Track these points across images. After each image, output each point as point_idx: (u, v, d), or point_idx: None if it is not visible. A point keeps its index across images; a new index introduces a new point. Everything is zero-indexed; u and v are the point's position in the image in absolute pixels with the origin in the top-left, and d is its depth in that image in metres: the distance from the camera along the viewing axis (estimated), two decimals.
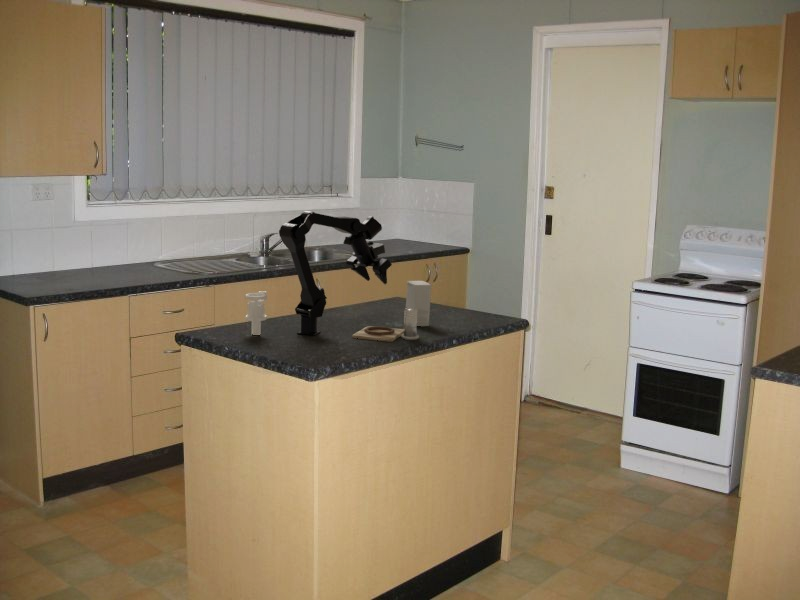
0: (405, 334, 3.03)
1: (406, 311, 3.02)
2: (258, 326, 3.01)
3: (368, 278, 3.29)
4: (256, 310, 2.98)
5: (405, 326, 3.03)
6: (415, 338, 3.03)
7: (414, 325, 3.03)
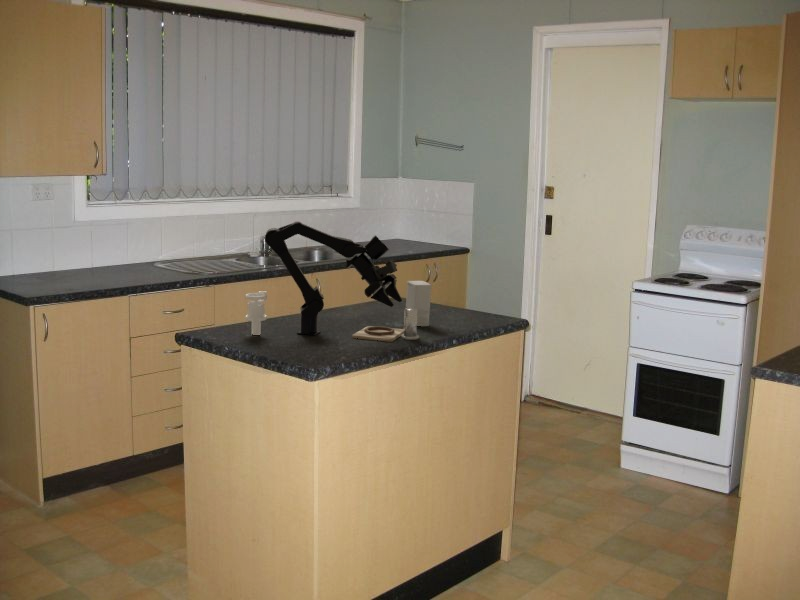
0: (405, 334, 3.03)
1: (406, 311, 3.02)
2: (258, 326, 3.01)
3: (399, 299, 3.09)
4: (256, 310, 2.98)
5: (405, 326, 3.03)
6: (415, 338, 3.03)
7: (414, 325, 3.03)
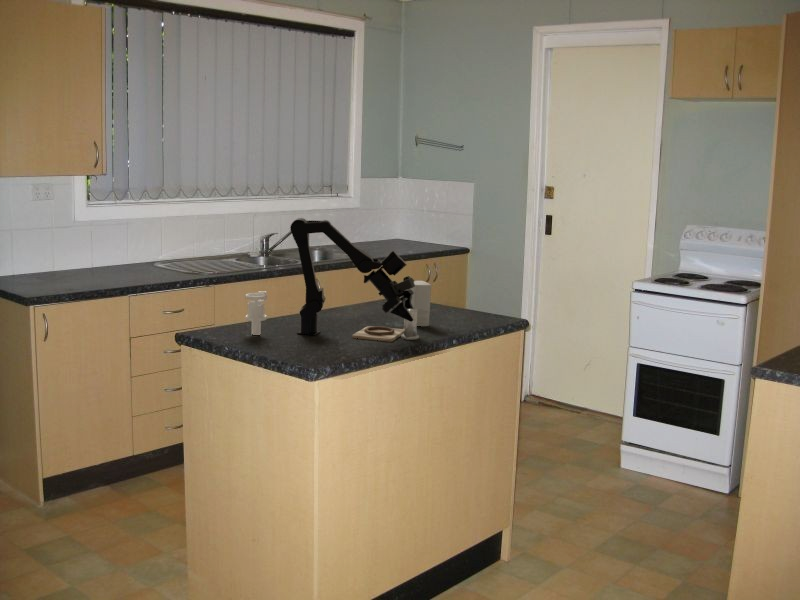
0: (405, 334, 3.03)
1: None
2: (258, 326, 3.01)
3: None
4: (256, 310, 2.98)
5: (405, 326, 3.03)
6: (415, 338, 3.03)
7: (414, 325, 3.03)
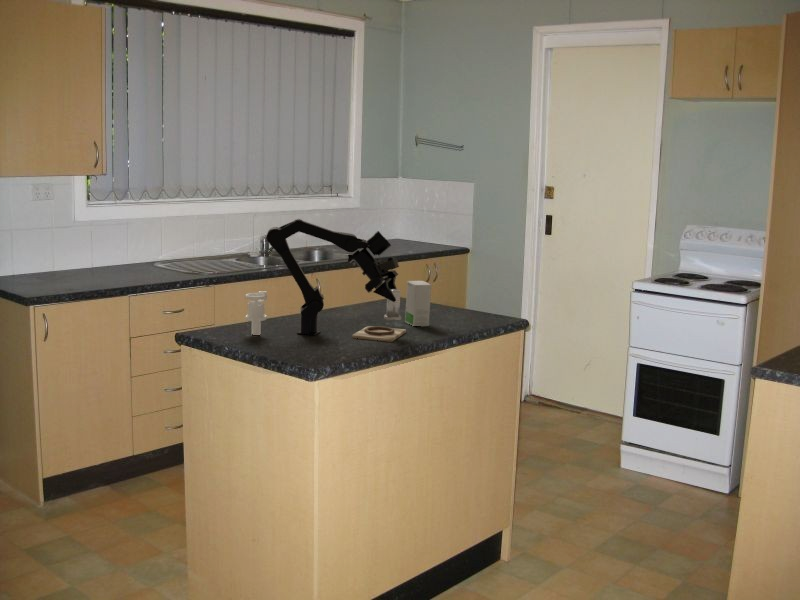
0: (388, 314, 3.04)
1: None
2: (258, 326, 3.01)
3: None
4: (256, 310, 2.98)
5: (387, 306, 3.04)
6: (398, 318, 3.03)
7: (397, 305, 3.03)
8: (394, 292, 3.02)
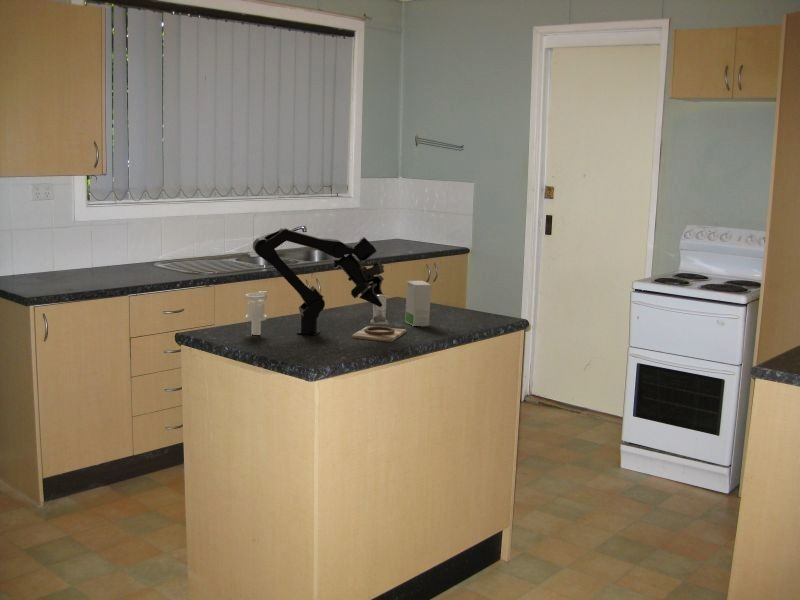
0: (374, 319, 3.06)
1: None
2: (258, 326, 3.01)
3: None
4: (256, 310, 2.98)
5: (374, 311, 3.06)
6: (384, 323, 3.05)
7: (383, 310, 3.05)
8: (380, 297, 3.04)
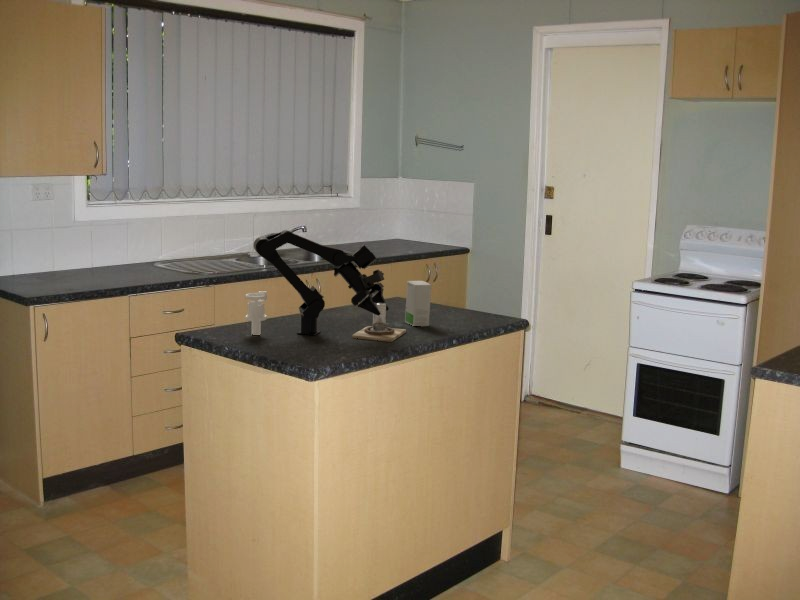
0: (374, 328, 3.06)
1: None
2: (258, 326, 3.01)
3: (386, 308, 3.10)
4: (256, 310, 2.98)
5: (373, 320, 3.06)
6: None
7: (383, 319, 3.06)
8: (380, 306, 3.04)
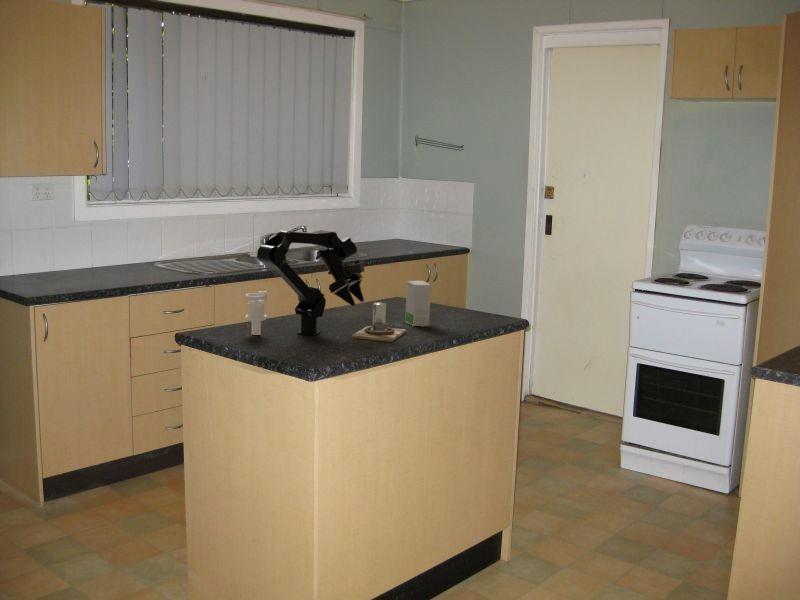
0: (374, 328, 3.06)
1: (375, 305, 3.05)
2: (258, 326, 3.01)
3: (361, 299, 3.14)
4: (256, 310, 2.98)
5: (373, 320, 3.06)
6: None
7: (383, 319, 3.06)
8: (380, 306, 3.04)
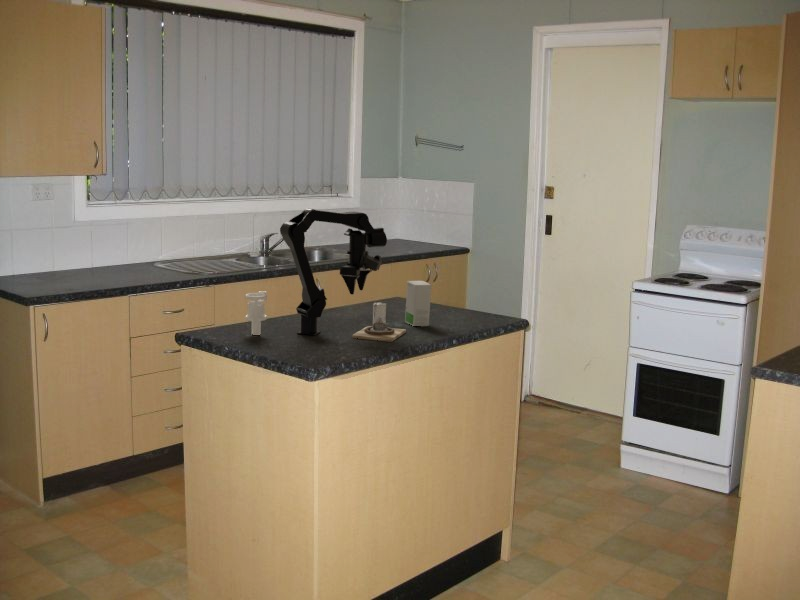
0: (374, 328, 3.06)
1: (375, 305, 3.05)
2: (258, 326, 3.01)
3: (361, 288, 3.19)
4: (256, 310, 2.98)
5: (373, 320, 3.06)
6: None
7: (383, 319, 3.06)
8: (380, 306, 3.04)
